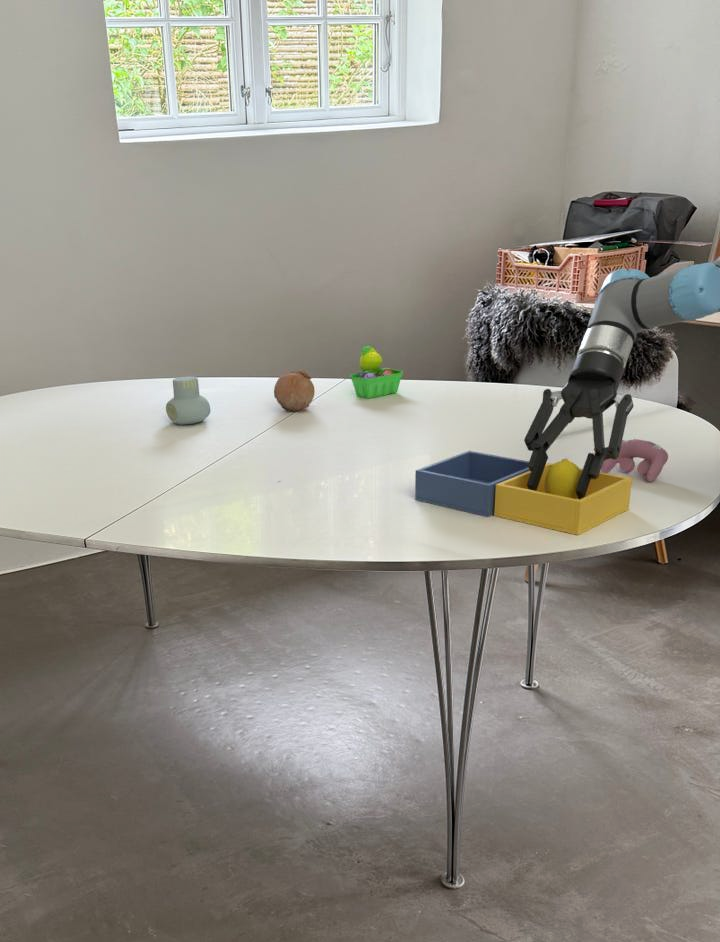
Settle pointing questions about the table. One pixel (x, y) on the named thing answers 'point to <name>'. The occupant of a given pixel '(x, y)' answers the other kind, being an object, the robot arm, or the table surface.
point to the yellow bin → (563, 502)
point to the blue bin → (466, 481)
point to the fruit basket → (374, 376)
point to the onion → (294, 391)
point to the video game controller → (640, 449)
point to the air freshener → (187, 402)
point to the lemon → (562, 479)
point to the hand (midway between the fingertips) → (554, 492)
